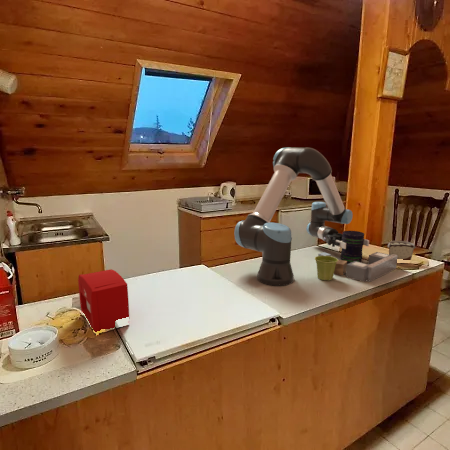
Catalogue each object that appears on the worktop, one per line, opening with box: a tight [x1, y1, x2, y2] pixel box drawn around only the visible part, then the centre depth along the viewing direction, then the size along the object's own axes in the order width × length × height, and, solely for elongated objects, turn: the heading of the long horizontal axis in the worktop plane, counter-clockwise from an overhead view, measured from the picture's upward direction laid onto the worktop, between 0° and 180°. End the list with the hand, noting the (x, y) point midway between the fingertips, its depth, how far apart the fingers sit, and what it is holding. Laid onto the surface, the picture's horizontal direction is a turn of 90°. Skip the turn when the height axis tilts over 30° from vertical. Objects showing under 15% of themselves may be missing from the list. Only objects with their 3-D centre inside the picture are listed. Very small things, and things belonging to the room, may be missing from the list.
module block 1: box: [345, 261, 368, 282], centre depth 147 cm, size 8×7×6 cm
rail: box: [365, 254, 398, 283], centre depth 151 cm, size 2×25×6 cm, turn 131°
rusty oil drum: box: [340, 230, 365, 264], centre depth 165 cm, size 10×10×15 cm
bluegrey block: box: [317, 251, 332, 257], centre depth 161 cm, size 4×4×6 cm
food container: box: [387, 240, 416, 261], centre depth 167 cm, size 12×6×10 cm, turn 84°
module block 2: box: [367, 251, 390, 265], centre depth 161 cm, size 8×8×6 cm
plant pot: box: [314, 255, 339, 281], centre depth 146 cm, size 9×9×9 cm
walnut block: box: [333, 259, 347, 276], centre depth 153 cm, size 5×6×5 cm
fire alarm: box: [77, 268, 130, 332], centre depth 108 cm, size 16×11×15 cm
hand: (357, 244), depth 161 cm, fingers open, 13 cm apart
